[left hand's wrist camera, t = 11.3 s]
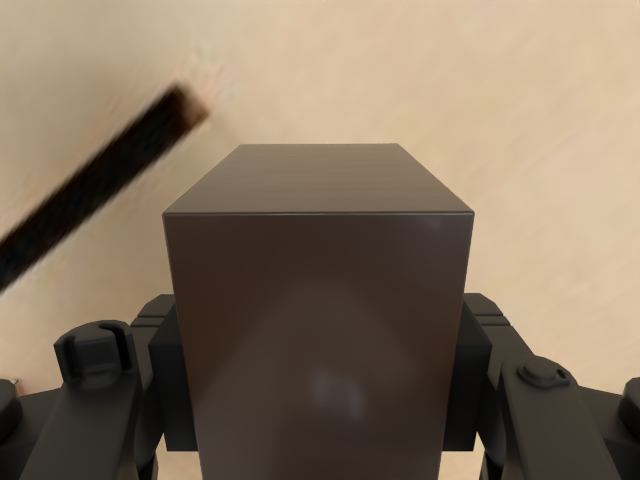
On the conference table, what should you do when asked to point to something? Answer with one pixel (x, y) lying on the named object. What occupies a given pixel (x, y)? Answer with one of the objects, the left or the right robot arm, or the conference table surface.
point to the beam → (319, 311)
